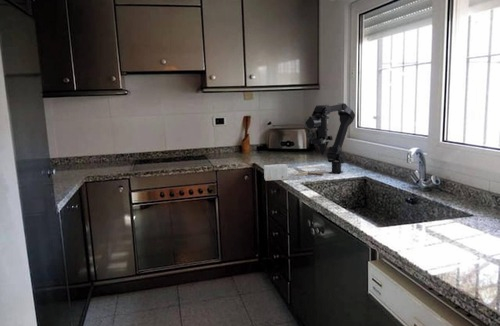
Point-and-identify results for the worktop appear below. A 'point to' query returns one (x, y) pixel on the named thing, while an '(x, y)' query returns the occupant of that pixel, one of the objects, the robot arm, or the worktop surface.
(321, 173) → the wooden turner
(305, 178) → the worktop surface
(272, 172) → the small box
